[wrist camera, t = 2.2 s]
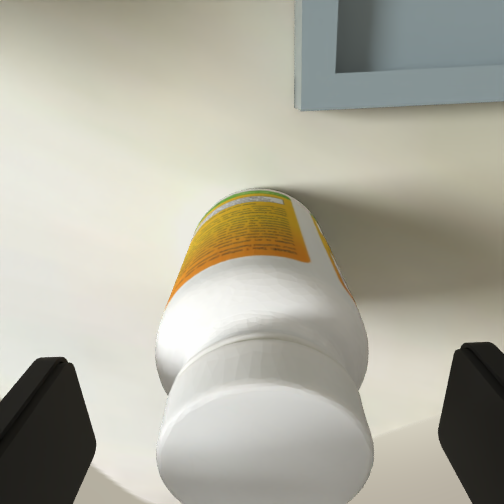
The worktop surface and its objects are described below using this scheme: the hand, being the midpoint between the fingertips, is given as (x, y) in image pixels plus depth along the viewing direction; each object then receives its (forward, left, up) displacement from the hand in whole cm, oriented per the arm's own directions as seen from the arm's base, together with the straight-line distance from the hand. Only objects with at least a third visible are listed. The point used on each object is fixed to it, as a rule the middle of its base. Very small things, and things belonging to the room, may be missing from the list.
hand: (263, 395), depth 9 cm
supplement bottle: (-1, 0, -8) cm, 8 cm away
